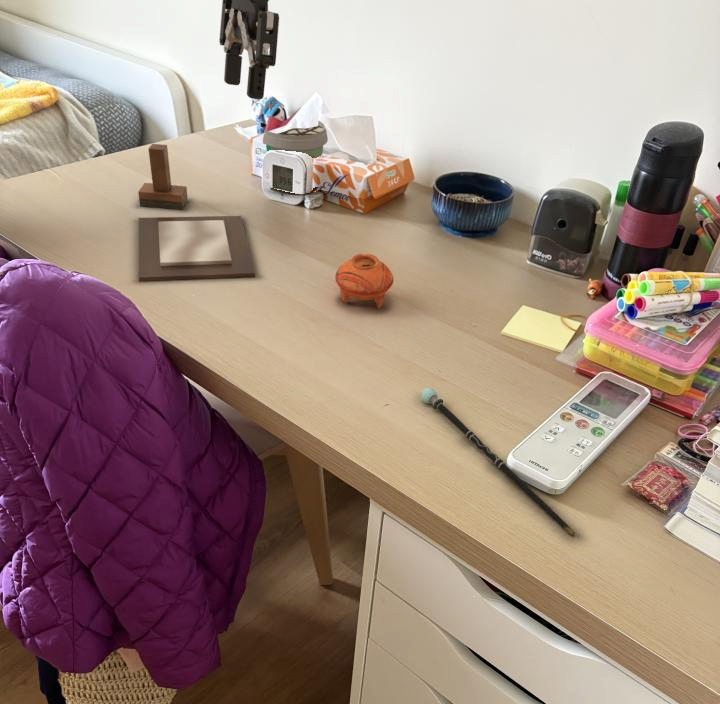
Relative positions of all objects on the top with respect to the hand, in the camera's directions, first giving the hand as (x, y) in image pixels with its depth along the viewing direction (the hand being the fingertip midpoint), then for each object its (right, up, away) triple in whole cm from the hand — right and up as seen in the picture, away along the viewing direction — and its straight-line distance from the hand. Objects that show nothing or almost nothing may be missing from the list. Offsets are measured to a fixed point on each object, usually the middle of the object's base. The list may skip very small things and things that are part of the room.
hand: (243, 91), depth 101 cm
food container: (+6, -3, +27) cm, 28 cm away
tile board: (-8, -20, +7) cm, 23 cm away
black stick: (+30, -53, -25) cm, 66 cm away
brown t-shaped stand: (-16, -9, +18) cm, 26 cm away
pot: (+17, -30, -1) cm, 35 cm away
